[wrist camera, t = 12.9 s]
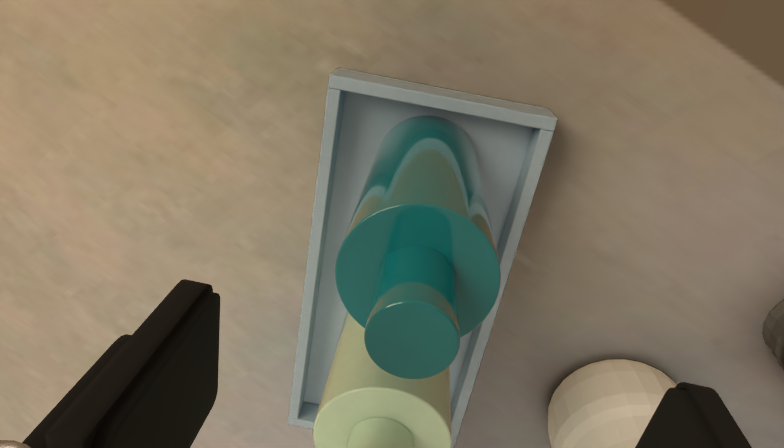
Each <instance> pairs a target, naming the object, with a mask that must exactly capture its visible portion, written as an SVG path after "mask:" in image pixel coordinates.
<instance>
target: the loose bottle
mask: <svg viewBox="0 0 784 448" xmlns="http://www.w3.org/2000/svg"><path fill="white" fill-rule="evenodd" d="M335 279H336V286H337V290H338V293H339V296H340V298H341V301H342V302H343V304H344V306H345V308H346V309H347V311H348V312H349V313H350V315H351V316H352V317H353V318H354V319H355V320H356V321H357V322H358V323H359V324H360V325H361V326H362V327H363V328H365V332H364V342H365V347H366V350H367V352H368V354H369V356H370V358H371V359H372V360H373V362H374V363H375V364H376V365H377V366H379V367H380V368H381V369H382V370H384V371H386V372H387V373H389V374H391V375H394V376H397V377H401V378H406V379H423V378H428V377H431V376H434V375H437V374H439V373H440V372H442V371H444V370H445V369H446V368H447V367H448V366H450V365H451V363H452V362H453V361H454V359H455V358H456V356H457V354H458V351H459V347H460V338H461V337H463V336H464V335H466V334H468V333H469V332H471V331H472V330H473V329H475V328H476V327H477V326H478V325H479V324H480V323H481V322H482V321H483V320H484V319H485V318H486V317H487V315H488V314H489V313H490V311H491V309H492V308H493V306H494V304H495V302H496V299H497V297H498V293H499V289H500V281H501V273H500V264H499V260H498V255H497V250H496V245H495V241H494V236H493V231H492V226H491V221H490V217H489V212H488V207H487V202H486V198H485V193H484V188H483V183H482V178H481V174H480V169H479V164H478V159H477V155H476V150H475V148H474V145H473V143H472V141H471V139H470V138H469V136H468V135H467V134H466V133H465V132H464V131H463V130H462V129H461V128H460V127H459V126H458V125H456V124H455V123H453V122H451V121H450V120H447V119H445V118H442V117H438V116H431V115H422V116H415V117H412V118H408V119H406V120H404V121H402V122H400V123H398V124H397V125H395V126H394V127H393V128H392V129H391V130H390V131H389V132H388V133H387V134H386V135H385V137H384V138H383V140H382V141H381V143H380V146H379V148H378V151H377V153H376V156H375V159H374V161H373V164H372V166H371V169H370V172H369V174H368V177H367V179H366V182H365V185H364V187H363V190H362V192H361V195H360V198H359V200H358V203H357V205H356V208H355V211H354V213H353V216H352V218H351V221H350V224H349V226H348V229H347V231H346V234H345V237H344V239H343V242H342V244H341V247H340V250H339V252H338V255H337V260H336V265H335Z"/></svg>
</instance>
